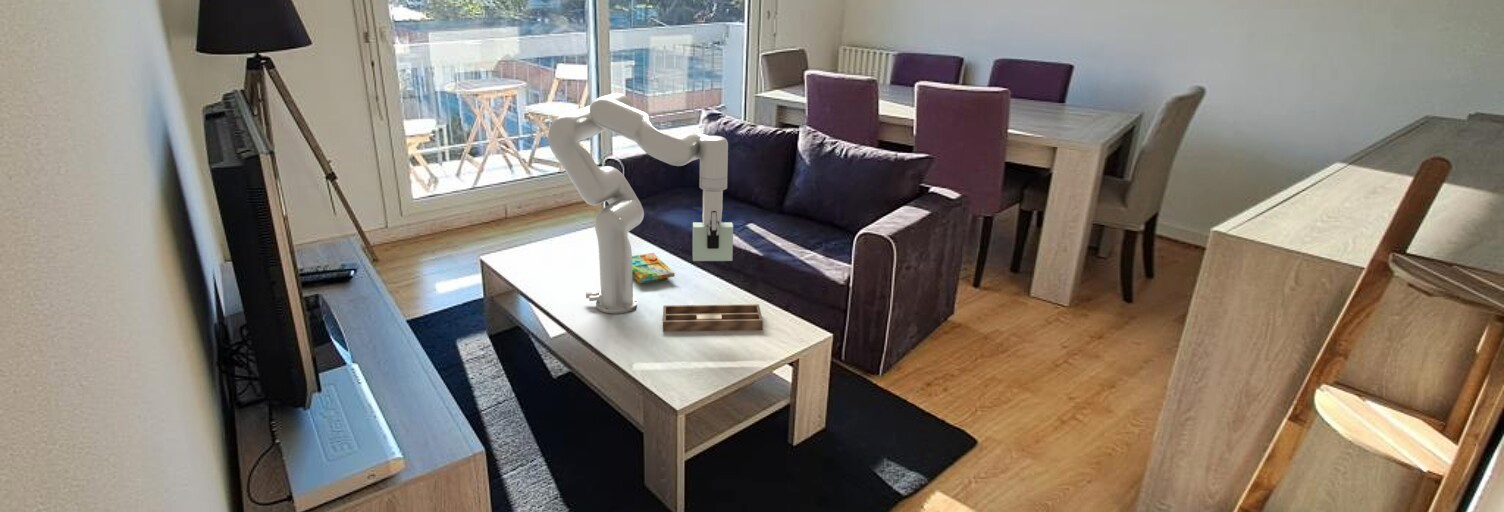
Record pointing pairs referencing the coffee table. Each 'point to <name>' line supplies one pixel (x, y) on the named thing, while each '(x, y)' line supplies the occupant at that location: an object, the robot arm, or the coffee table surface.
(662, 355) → the coffee table surface
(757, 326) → the tray
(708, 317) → the offcut upper
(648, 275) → the puzzle game
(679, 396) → the coffee table surface
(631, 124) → the robot arm
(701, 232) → the pale green block
